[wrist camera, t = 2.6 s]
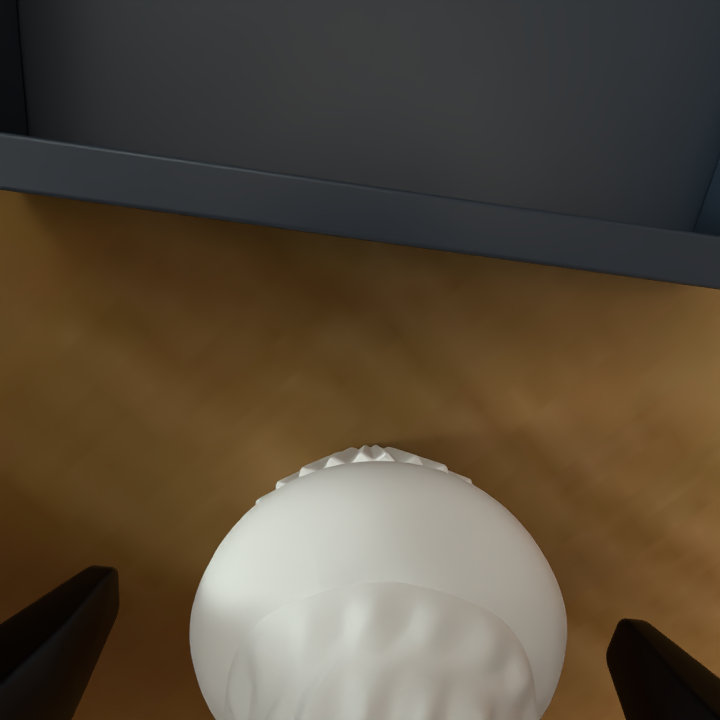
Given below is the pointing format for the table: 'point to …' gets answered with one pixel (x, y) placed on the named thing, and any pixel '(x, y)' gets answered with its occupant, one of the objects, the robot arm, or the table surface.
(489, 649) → the muffin
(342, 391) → the table surface
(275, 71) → the tray
